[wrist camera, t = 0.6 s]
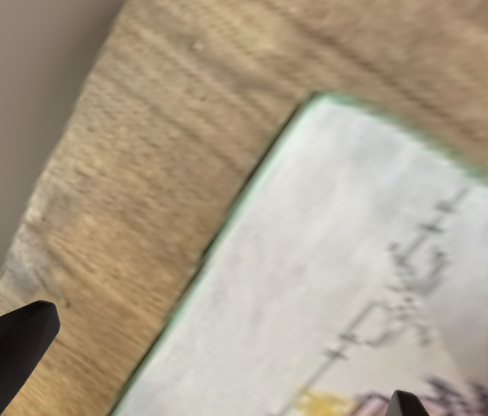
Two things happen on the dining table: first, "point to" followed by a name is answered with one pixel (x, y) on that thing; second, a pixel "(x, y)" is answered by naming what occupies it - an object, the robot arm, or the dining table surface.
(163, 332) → the dining table surface
